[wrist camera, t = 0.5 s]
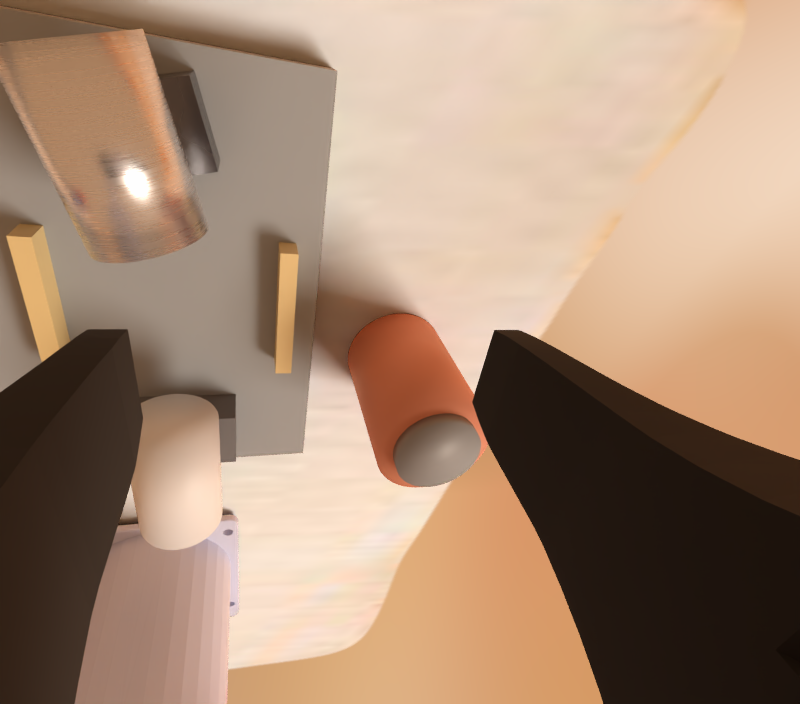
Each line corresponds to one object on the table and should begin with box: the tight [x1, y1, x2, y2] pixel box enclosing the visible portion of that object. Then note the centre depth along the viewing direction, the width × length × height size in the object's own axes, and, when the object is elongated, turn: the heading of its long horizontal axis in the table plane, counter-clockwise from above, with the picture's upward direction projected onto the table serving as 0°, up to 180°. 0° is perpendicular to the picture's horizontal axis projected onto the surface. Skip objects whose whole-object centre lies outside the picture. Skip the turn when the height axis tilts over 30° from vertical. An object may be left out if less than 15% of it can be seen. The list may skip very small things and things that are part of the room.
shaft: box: [0, 29, 220, 263], centre depth 12 cm, size 4×4×4 cm
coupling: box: [348, 313, 488, 487], centre depth 19 cm, size 4×4×6 cm
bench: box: [0, 6, 337, 550], centre depth 15 cm, size 16×12×6 cm
